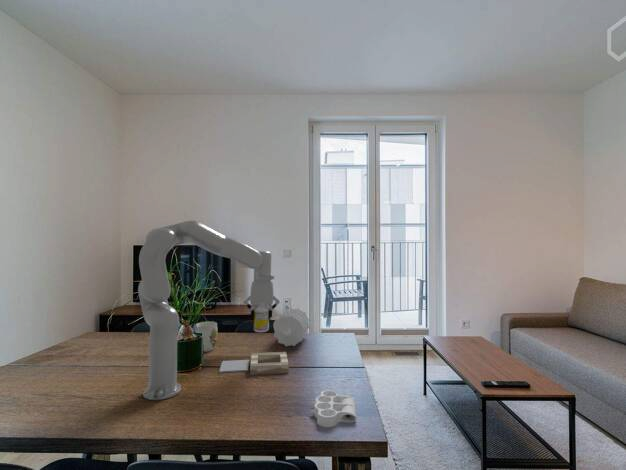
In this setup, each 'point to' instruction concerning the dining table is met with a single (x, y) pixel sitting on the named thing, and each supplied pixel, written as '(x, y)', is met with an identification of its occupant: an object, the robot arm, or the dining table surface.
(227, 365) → the grey mat
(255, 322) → the supplement bottle
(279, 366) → the cup holder
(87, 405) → the dining table surface
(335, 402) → the white scalloped holder tray
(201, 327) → the pitcher
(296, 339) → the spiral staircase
